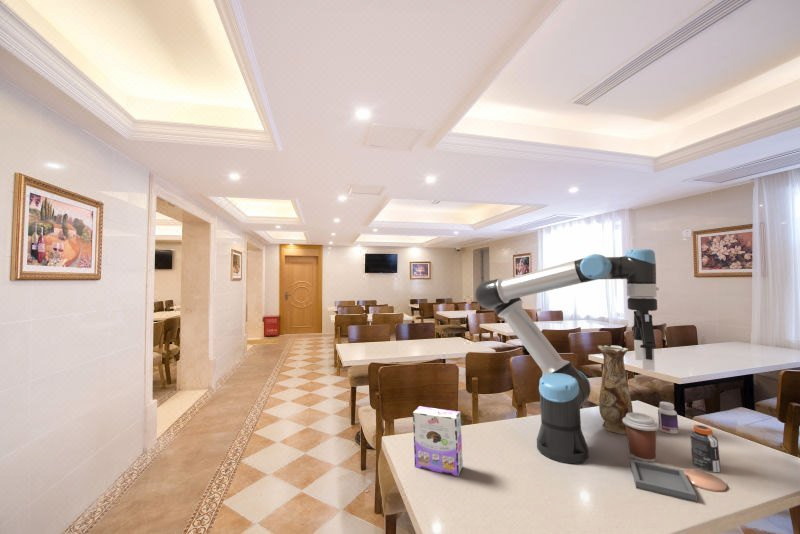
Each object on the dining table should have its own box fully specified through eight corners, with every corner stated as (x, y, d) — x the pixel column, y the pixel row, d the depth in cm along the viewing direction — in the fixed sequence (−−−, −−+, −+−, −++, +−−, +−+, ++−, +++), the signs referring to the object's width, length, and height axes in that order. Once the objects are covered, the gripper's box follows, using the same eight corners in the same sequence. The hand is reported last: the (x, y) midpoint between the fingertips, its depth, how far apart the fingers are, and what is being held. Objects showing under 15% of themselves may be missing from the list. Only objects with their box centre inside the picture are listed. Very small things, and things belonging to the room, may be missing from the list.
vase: (593, 423, 122) (588, 345, 124) (619, 421, 123) (613, 344, 125) (615, 436, 111) (609, 350, 113) (642, 433, 112) (636, 349, 114)
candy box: (463, 466, 95) (461, 410, 96) (458, 477, 89) (456, 418, 90) (420, 457, 100) (419, 404, 101) (413, 467, 95) (412, 411, 96)
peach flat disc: (685, 485, 83) (685, 482, 84) (676, 468, 91) (676, 465, 91) (732, 495, 79) (732, 493, 79) (719, 476, 87) (718, 474, 87)
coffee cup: (624, 445, 104) (621, 408, 105) (659, 453, 99) (656, 414, 100) (624, 458, 97) (621, 418, 98) (662, 467, 92) (659, 425, 92)
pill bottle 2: (726, 474, 88) (722, 432, 89) (701, 472, 89) (698, 431, 90) (710, 462, 94) (706, 423, 94) (687, 460, 95) (684, 422, 96)
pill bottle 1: (682, 434, 111) (680, 406, 112) (667, 434, 111) (665, 406, 112) (669, 427, 117) (667, 400, 117) (655, 427, 117) (653, 400, 118)
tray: (636, 488, 83) (635, 481, 83) (630, 465, 93) (629, 459, 93) (696, 502, 77) (696, 495, 77) (683, 476, 87) (682, 469, 87)
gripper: (667, 300, 88) (670, 376, 87) (648, 296, 110) (650, 357, 109) (634, 299, 91) (636, 373, 90) (622, 295, 113) (624, 355, 112)
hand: (644, 364), depth 99 cm, fingers open, 13 cm apart
